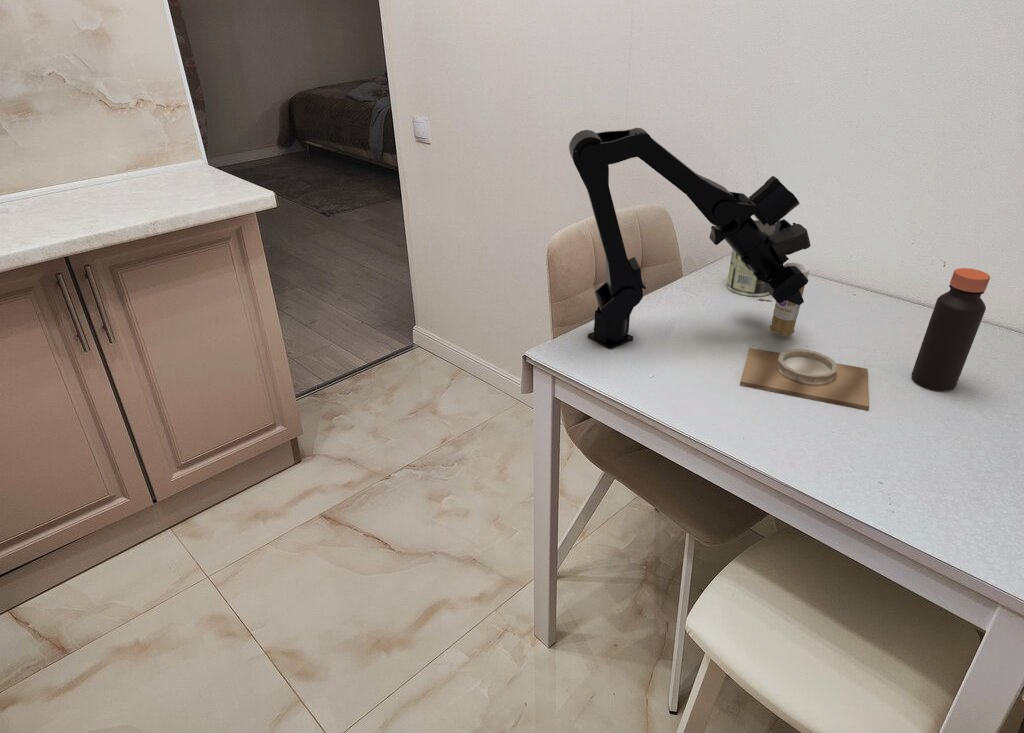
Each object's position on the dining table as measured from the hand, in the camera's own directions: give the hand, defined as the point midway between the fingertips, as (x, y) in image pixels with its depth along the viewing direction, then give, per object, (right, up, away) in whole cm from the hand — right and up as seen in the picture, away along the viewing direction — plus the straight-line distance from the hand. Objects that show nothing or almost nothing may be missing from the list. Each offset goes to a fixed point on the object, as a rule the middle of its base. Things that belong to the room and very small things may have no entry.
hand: (796, 298), depth 126 cm
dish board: (-3, -15, -10) cm, 18 cm away
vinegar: (+19, -16, -11) cm, 27 cm away
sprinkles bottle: (-1, -6, +4) cm, 7 cm away
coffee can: (0, +5, +24) cm, 25 cm away
